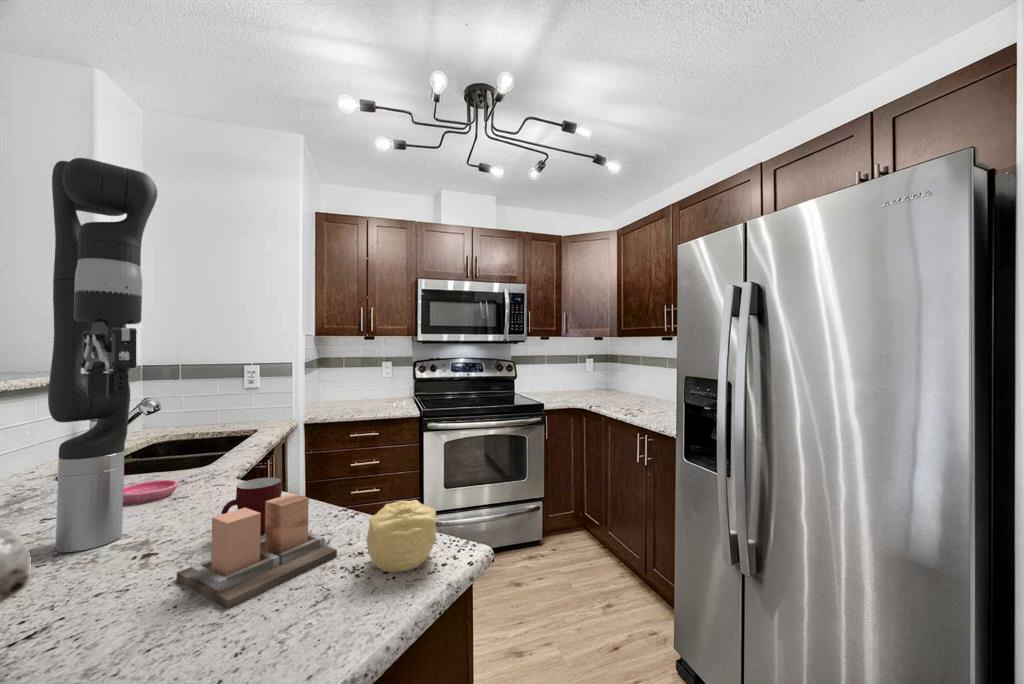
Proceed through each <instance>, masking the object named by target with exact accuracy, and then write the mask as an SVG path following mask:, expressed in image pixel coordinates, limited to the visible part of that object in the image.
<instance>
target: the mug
mask: <svg viewBox="0 0 1024 684" xmlns="http://www.w3.org/2000/svg"><path fill="white" fill-rule="evenodd" d="M282 482H283V481H282V479H281V478H280V477H260V478H254V479H250V480H246V481H242V482H241V483H238V484H236V485H237V486H236V493H235V499H232V500H230V501H228V502H227V503H226V504H225V505H224V506H223V508H222V510H221V514H220V515H222V514H225V513H228V512H229V510H230V509H231V508H233V506H237V510H239V509H242V508H248V509H251V510H253V511H256V512H259V513H261V529H260V535H263V534H264V535H265V501H269V500H272V499H275V498H279V497H282V492H283V491H282V488H283V487H282V486H283V484H282Z"/></svg>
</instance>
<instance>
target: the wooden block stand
mask: <svg viewBox="0 0 1024 684" xmlns="http://www.w3.org/2000/svg"><path fill="white" fill-rule="evenodd" d="M325 544H326V543H325V537H324V536H323V535H318V534H316V533H312V532H309V497H307V496H304V495H300V494H296V493H289V494H285V495H283V496H282V495H281V497H279V498H275V499H272V500H269V501H265V533H264V538H263V539H262V540H261V539H260V562H258V563H256V564H253V565H251V566H248V567H246V568H244V569H241V570H239V571H236V572H234V573H232V574H229V575H227V576H224V577H223V576H221V575H219V574H217V573H215V572H213V571H211V559H208V560H206V561H202V562H201V563H197V564H195V565H192V566H190V567H187V568H185V569H182V570H179V571H177V572H176V581H177V582H179V583H181V584H182V585H185V586H186V587H188V588H190V589H192V590H193V591H195V592H197V593H199V594H200V595H203V596H204V597H206V598H208V599H210V600H211V601H212V602H214V603H216V604H218V605H220V606H221V607H223V608H225V609H227V610H229V609H231V608H232V607H233V608H234V607H235V606H238V605H239V604H241V603H243V602H245V601H247V600H249V599H252V598H254V597H256V596H258V595H260V594H262V593H265V592H266V591H268V590H270V589H272V588H274V587H277V586H278V585H280V584H283V583H285V582H286V581H289V580H291V579H293V578H295V577H298V576H299V575H302V574H303V573H306V572H308V571H310V570H312V569H314V568H316V567H319V566H320V565H322V564H324V563H327V562H329V561H331V560H333V559H335V558H337V557H338V550H337V549H336V548H333V547H330V546H327V545H325Z"/></svg>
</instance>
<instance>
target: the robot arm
mask: <svg viewBox="0 0 1024 684" xmlns="http://www.w3.org/2000/svg"><path fill="white" fill-rule="evenodd" d="M51 191H52V204H53V207H52V208H53V219H54V221H53V222H54V236H55V237H54V239H55V240H54V243H55V245H54V262H53V263H54V264H53V277H52V278H53V281H52V288H53V289H52V305H53V307H52V308H53V344H52V345H53V348H52V356H51V357H52V358H51V366H50V373H49V383H48V390H47V391H48V393H47V394H48V395H47V403H48V410H49V414H50V416H51V418H52V419H53V420H54V421H55V422H58V423H71V422H72V423H74V422H83V421H84V422H85V421H93V420H97V421H96V424H95V425H94V426H93V427H92V428H90V429H88V430H87V431H85V432H84V433H82V434H80V435H77V436H74V437H72V438H70V439H67V440H65V441H63V442H62V443H60V445H59V447H58V459H57V460H58V464H57V466H58V467H57V468H58V469H57V494H56V495H57V497H56V521H55V523H56V527H55V528H56V529H55V551H56V552H58V553H72V552H74V553H75V552H81V551H86V550H87V551H88V550H91V549H95V548H98V547H101V546H105V545H108V544H110V543H112V542H115V541H116V540H118V539H120V538H122V536H123V516H124V503H123V487H125V486H124V482H125V481H124V480H125V477H124V475H125V444H126V441H127V436H128V425H129V413H130V406H131V405H130V403H131V386H130V383H129V373H131V372H132V369H136V368H137V365H138V364H137V363H138V362H137V333H138V332H137V329H136V327H135V328H133V327H127V325H138V324H140V323H142V307H143V306H142V303H143V277H142V270H141V269H142V268H141V263H142V261H141V260H142V259H141V258H142V255H141V254H142V240H143V236H144V232H145V229H146V228H145V227H146V225H147V222H148V220H149V218H150V216H151V213H152V211H153V209H154V208H155V205H156V202H157V199H158V188H157V185H156V183H155V181H154V180H153V179H152V178H151V177H150V176H149V175H148V174H146V173H145V172H142V171H140V170H136V169H132V168H128V167H124V166H119V165H116V164H112V163H109V162H105V161H104V162H103V161H99V160H96V159H91V158H85V157H75V158H72V159H70V161H67V160H58V161H57V162H56V163H55V165H54V167H53V169H52V175H51ZM78 211H79V212H85V213H91V214H97V215H103V216H108V217H120V216H123V215H125V214H126V217H125V218H124V219H122V220H118V221H91V222H85V223H83V224H81V222H80V219H79V216H78V214H77V212H78ZM82 369H83V370H84V373H82V372H81V371H82Z"/></svg>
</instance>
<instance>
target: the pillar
mask: <svg viewBox="0 0 1024 684" xmlns="http://www.w3.org/2000/svg"><path fill="white" fill-rule="evenodd" d="M260 529H261V513H259V512H256V511H253V510H251V509H248V508H242V509H239V510H238V509H235V510H233V511H228V512H227V513H225V514H222V515H221V514H219V515H218V514H217V515H215V516H212V517H211V550H210V551H211V552H210V553H211V555H210V556H211V559H210V560H211V571H213V572H215V573H217V574H219V575H221V576H223V577H224V576H227V575H229V574H232V573H234V572H236V571H239V570H241V569H244V568H246V567H248V566H251V565H253V564H256V563H258V562H260V541H261V534H260Z"/></svg>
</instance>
